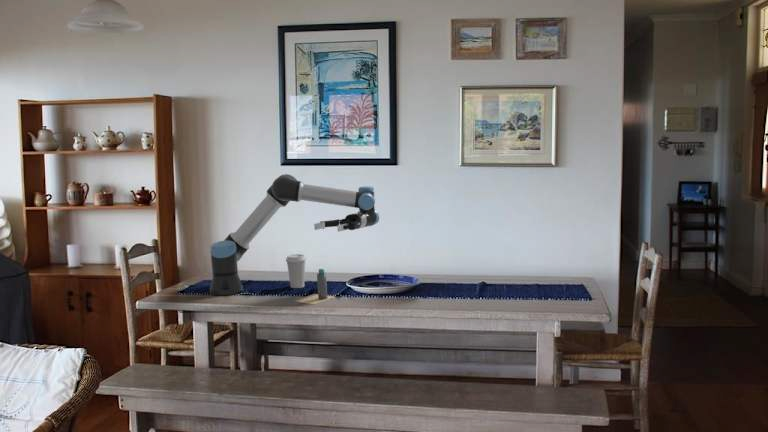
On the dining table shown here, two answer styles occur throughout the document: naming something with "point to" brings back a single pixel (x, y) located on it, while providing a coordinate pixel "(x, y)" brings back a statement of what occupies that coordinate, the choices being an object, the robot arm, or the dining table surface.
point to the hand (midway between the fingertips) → (326, 227)
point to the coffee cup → (296, 270)
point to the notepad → (312, 299)
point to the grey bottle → (322, 285)
